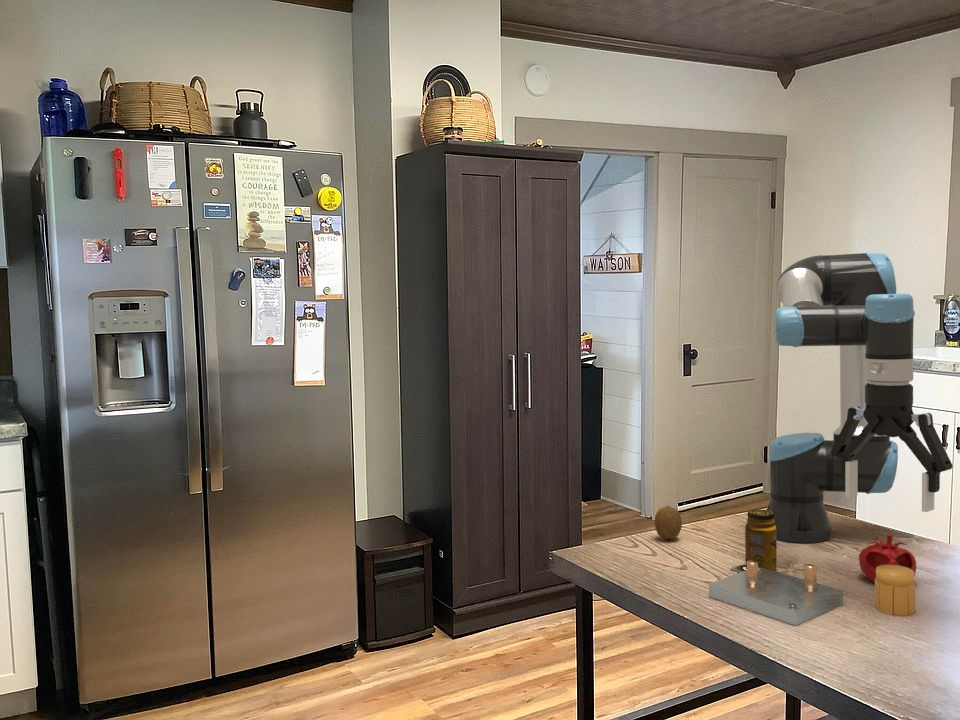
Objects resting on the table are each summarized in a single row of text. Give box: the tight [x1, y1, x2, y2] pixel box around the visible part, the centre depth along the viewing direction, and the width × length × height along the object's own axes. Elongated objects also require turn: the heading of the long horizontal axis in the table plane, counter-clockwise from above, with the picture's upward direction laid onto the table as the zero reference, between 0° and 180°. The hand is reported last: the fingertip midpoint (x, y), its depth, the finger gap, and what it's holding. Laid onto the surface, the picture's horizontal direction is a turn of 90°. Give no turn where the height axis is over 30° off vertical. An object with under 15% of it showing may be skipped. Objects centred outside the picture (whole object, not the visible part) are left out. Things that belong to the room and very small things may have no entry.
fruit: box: [654, 505, 683, 541], centre depth 190 cm, size 6×6×8 cm
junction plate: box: [708, 561, 844, 626], centre depth 151 cm, size 15×18×7 cm
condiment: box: [729, 509, 786, 573], centre depth 167 cm, size 7×8×12 cm
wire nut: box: [874, 565, 916, 616], centre depth 145 cm, size 6×6×7 cm
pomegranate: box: [858, 533, 917, 584], centre depth 159 cm, size 10×10×9 cm
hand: (888, 503), depth 144 cm, fingers open, 13 cm apart
